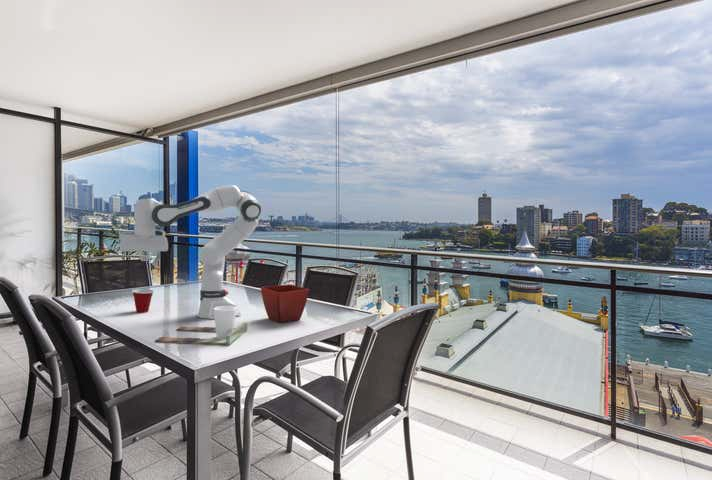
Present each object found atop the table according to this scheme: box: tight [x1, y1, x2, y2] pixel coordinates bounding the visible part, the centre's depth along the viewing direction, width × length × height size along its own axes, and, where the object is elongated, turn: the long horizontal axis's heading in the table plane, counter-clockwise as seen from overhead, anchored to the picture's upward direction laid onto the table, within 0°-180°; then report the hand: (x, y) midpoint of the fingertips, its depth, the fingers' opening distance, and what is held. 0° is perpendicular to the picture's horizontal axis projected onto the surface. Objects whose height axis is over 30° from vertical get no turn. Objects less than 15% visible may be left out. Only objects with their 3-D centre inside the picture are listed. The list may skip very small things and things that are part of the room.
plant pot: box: [260, 284, 310, 324], centre depth 201 cm, size 19×19×17 cm
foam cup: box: [214, 306, 236, 339], centre depth 165 cm, size 10×9×13 cm
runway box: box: [154, 321, 248, 346], centre depth 166 cm, size 32×22×4 cm
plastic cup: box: [131, 288, 155, 314], centre depth 207 cm, size 11×11×12 cm
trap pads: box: [182, 326, 216, 342], centre depth 166 cm, size 6×22×1 cm, turn 178°
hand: (144, 260), depth 179 cm, fingers closed
